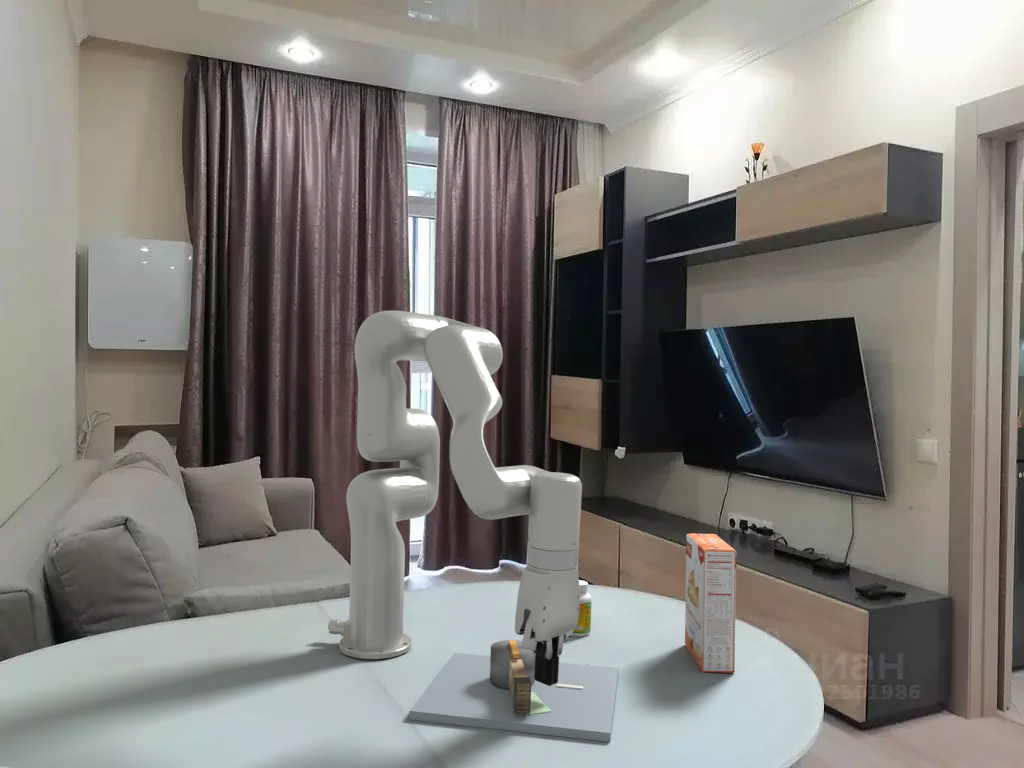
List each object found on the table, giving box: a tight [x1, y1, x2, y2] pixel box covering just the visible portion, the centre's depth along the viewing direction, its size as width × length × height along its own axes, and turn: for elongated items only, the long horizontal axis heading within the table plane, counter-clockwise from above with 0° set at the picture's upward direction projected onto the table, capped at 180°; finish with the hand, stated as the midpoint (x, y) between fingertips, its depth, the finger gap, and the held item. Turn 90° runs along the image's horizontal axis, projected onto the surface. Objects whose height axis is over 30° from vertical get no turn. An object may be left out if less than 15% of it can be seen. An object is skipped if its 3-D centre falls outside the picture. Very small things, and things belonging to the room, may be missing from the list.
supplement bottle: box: [569, 579, 592, 638], centre depth 146 cm, size 5×5×10 cm
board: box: [409, 652, 620, 743], centre depth 115 cm, size 28×24×1 cm
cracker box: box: [684, 532, 738, 674], centre depth 134 cm, size 14×6×21 cm, turn 179°
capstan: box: [489, 639, 535, 713], centre depth 113 cm, size 16×7×6 cm, turn 6°
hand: (545, 681), depth 111 cm, fingers closed
